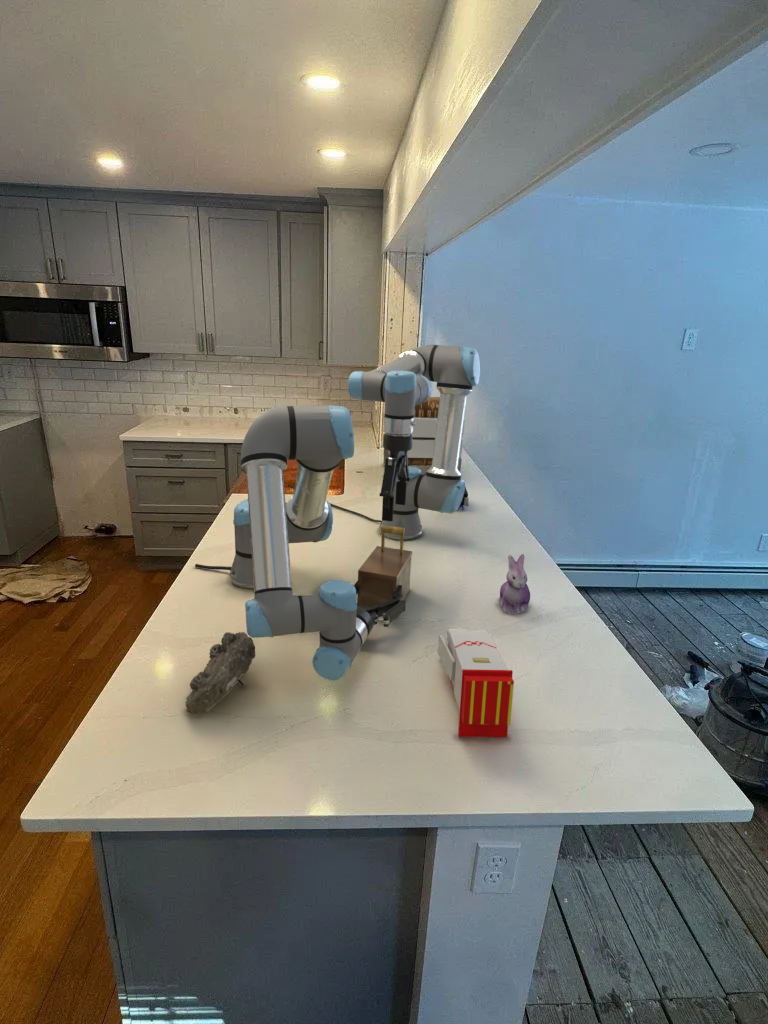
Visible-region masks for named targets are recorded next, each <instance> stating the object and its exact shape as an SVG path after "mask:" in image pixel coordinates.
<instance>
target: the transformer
mask: <svg viewBox="0 0 768 1024" xmlns="http://www.w3.org/2000/svg"><path fill="white" fill-rule="evenodd" d="M439 401H440V396H430V397H429V398H428V399H427V400H426V401H425V402H423V403H422V404H419V405H415V408H414V420H413V422H415V423H416V425H415V426H413V433H411V435H412V436H413V441H412V449H411V450H409V451H408V467H417V466H418V467H431V466H432V460H433V451H434V443H435V435H436V426H437V418H438V409H439ZM464 429H465V419H464V421H463V428H462V436H461V444H460V451H459V459H458V467H457V469H458V471H459V472H460V473H461V472H462V461H463V460H462V453H463V442H464V441H463V440H462V439H463V438H464V431H465V430H464ZM388 456H390V451H389V450H386V449H384V448H383V466H384V467H385V461H386V460H385V459H386V457H388ZM461 474H462V473H461Z"/></svg>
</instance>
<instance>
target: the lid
mask: <svg viewBox="0 0 768 1024" xmlns="http://www.w3.org/2000/svg"><path fill="white" fill-rule="evenodd" d="M381 532H382V535H381V539H380V543H381V545H377V546H375V548H374V549H373V551H372V552H371V553H370V554H369V556H368V557H367V558H366V560H365V561H364V562H363V563H362V565H361V566H360V567H359V568H358V570H357V576H358V575H364V576H370V577H376V578H382V579H388V580H394V581H397V579H398V578H399V576H400V574H401V573H402V571H403V569H404V568H405V566H406V564H407V563H408V561H409V559H410V558H411V559H412V556H413V550H407V549H404V540H403V538H404V534H405V528H401V527H394V526H387V525H382V526H381ZM385 533H390V534H397V535H401V538H400V540H399V548H393V547H389V546H388V547H387V546H385V538H386V537H385Z"/></svg>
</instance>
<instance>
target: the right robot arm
mask: <svg viewBox="0 0 768 1024" xmlns="http://www.w3.org/2000/svg"><path fill="white" fill-rule="evenodd" d="M480 378H481V362H480V356H479V352H478V350H477V349H475V348H474V347H470V346H462V345H460V346H459V345H457V346H456V345H444V344H443V345H441V344H425V345H421V346H417V347H413V348H411V349H408V350H406V351H403V352H402V353H400V354H399V356H398V358H396V359H394V360H391V361H390V362H387V363H385V364H382V365H381V366H379V367H376V368H374V369H372V370H370V371H363V370H360V371H359V370H355V371H353V372H351V373H350V375H349V376H348V379H347V392H348V395H349V397H350V398H352V399H355V400H360V401H370V402H379V403H380V402H381V403H384V414H383V432H384V434H383V436H382V447H383V450H384V449H386V450H389V451H390V456H388V457H386V459H385V460H386V461H385V466H384V469H383V470H384V471H383V477H382V482H381V487H380V488H381V489H380V492H379V495H378V496H379V497H382V507H381V508H382V509H381V520H380V519H375V518H371V517H369V516H367V515H364V514H363V513H361V512H360V513H359V512H356V511H354V510H351V509H348V508H345V507H342V506H339V505H336V504H334V503H331V502H329V503H330V505H331V507H334V508H336V509H340V510H342V511H346V512H348V513H350V514H354V515H357V516H360V517H362V518H365V519H367V520H368V521H371V522H375V523H379V526H378V533H379V534H380V535H381V536H382V532H381V526H382V525H387V526H394V527H401V528H405V534H404V538H403V541H410V540H415V539H418V538H420V537H421V536H422V535H423V525H422V524H421V518H420V515H419V509H420V510H427V511H433V512H438V513H441V514H443V513H444V514H454V513H456V512H457V511H458V509H459V508H460V507H459V506H460V504H461V501H462V498H463V495H464V491H465V487H466V481H465V480H463V479H462V473H460V472H459V471H458V469H457V467H458V459H459V451H460V444H461V440H462V438H461V436H462V428H463V421H464V420H465V413H466V412H465V411H466V404H467V397H468V395H469V394H471V393H472V392H473V387H475V386H478V385H479V382H480ZM431 382H434V383H436V386H435V387H436V389H437V391H438V392H439V393H440V394H439V397H440V401H439V409H438V418H437V426H436V435H435V443H434V451H433V460H432V465H430V466H429V468H428V469H426V472H425V474H422V470H421V468H419V467H416V466H408V451H409V450H411V449H412V441H413V436H412V435H411V433H413V426H415V425H416V423H415V422H413V420H414V408H415V405H419V404H422V403H423V402H425V401H426V400H427V399H428V398H429V397H431V395H432V391H433V387H432V386H433V385H432V383H431ZM464 422H465V421H464ZM287 487H288V488H292V489H293V490H294V489H295V486H293V485H290V484H287ZM385 538H387V539H389V540H395V541H400V538H401V535H397V534H390V533H385Z"/></svg>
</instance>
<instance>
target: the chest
mask: <svg viewBox="0 0 768 1024" xmlns="http://www.w3.org/2000/svg"><path fill="white" fill-rule="evenodd" d="M411 569H412V557H411V558H410V559H409V561H408V563H407V564H406V566H405V568H404V569H403V571H402V573H401V574H400V576H399V578H398V579H397V581H394V580H388V579H382V578H376V577H370V576H364V575H358V574H357V580H358V593H357V595H356V597H357V605H358V606H359V605H362V606H365V607H371V606H374V605H380V604H383V603H385V602H387V601H390V600H392V599H393V595H394V593H395V592H396V590H397V588H398V587H399V585H402V595H403V598H402V600H405V599H406V598H407V595H408V593H409V591H410V584H411V583H410V582H411Z"/></svg>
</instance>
